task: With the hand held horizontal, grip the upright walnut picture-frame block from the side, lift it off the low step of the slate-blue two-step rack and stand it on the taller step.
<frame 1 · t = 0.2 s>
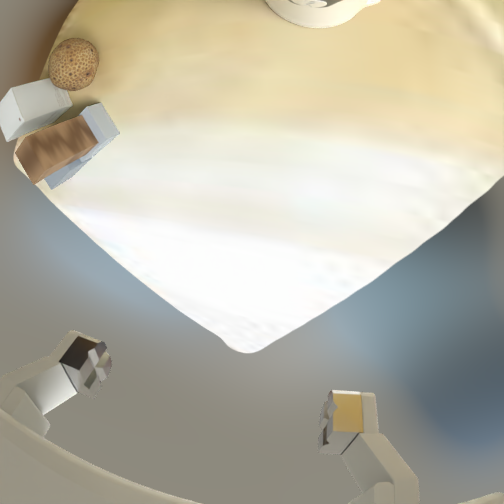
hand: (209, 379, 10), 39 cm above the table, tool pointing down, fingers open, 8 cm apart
supplement box: (57, 99, 44), on the table
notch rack: (84, 142, 48), on the table
natural sponge: (94, 62, 39), on the table
frame block: (83, 135, 43), point 4 cm above the table, touching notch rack
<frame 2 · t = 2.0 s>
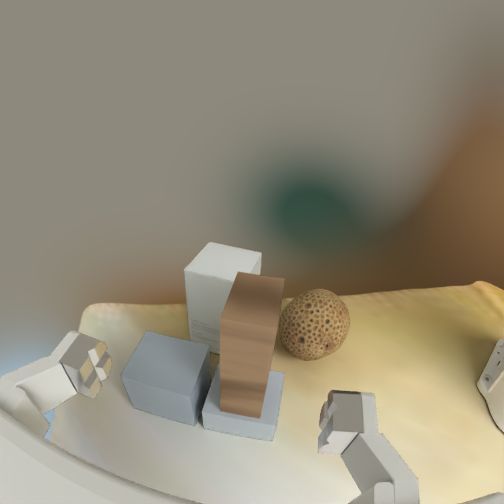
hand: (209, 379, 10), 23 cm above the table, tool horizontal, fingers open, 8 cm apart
supplement box: (223, 337, 42), on the table
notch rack: (207, 402, 32), on the table
natural sponge: (305, 353, 40), on the table
frame block: (245, 391, 30), point 4 cm above the table, touching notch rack
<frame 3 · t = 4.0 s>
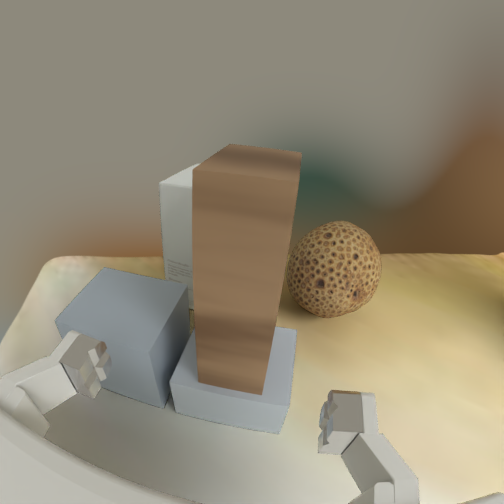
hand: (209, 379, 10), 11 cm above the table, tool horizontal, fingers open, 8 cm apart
supplement box: (212, 293, 32), on the table
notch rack: (184, 375, 22), on the table
natural sponge: (321, 315, 31), on the table
frame block: (239, 354, 20), point 4 cm above the table, touching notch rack
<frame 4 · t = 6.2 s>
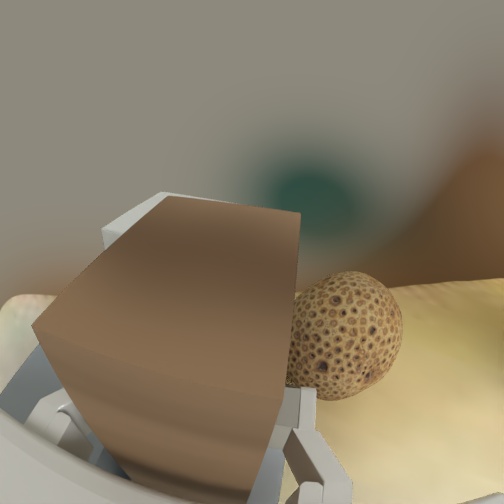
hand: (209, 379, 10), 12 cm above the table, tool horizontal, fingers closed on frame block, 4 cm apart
supplement box: (187, 352, 25), on the table
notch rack: (148, 469, 15), on the table
natural sponge: (322, 381, 23), on the table
frame block: (209, 469, 13), point 4 cm above the table, touching gripper, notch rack
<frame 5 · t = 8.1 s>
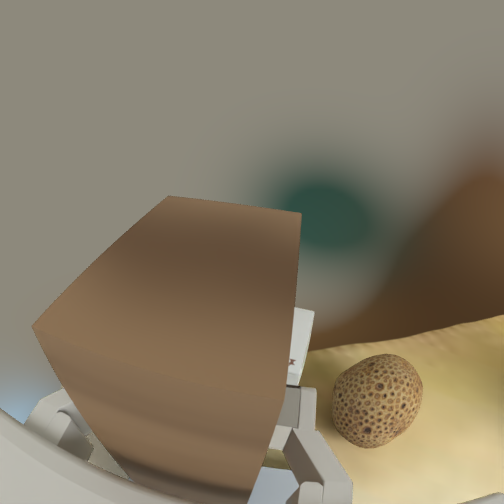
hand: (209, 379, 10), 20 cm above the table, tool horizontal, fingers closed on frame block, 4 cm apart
supplement box: (252, 411, 29), on the table
natural sponge: (357, 427, 27), on the table
frame block: (210, 470, 13), point 13 cm above the table, touching gripper
when the fingers open (15 cm above the table, at t = 9.9 s): frame block drops 1 cm, resting on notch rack.
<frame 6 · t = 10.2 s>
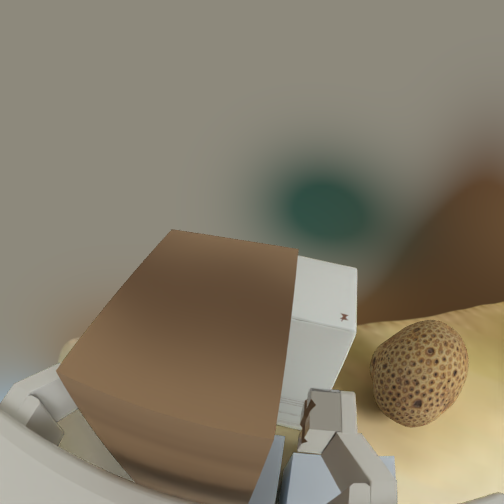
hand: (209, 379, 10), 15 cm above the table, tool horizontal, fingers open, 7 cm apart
supplement box: (279, 393, 26), on the table
natural sponge: (395, 408, 24), on the table
frame block: (211, 475, 13), point 7 cm above the table, touching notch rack
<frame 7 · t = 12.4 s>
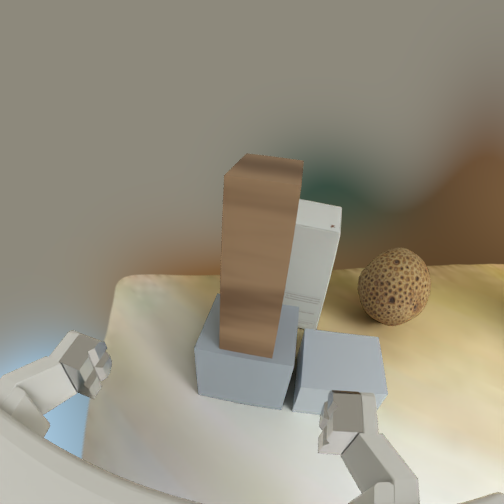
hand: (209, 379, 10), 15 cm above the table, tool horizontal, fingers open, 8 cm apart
supplement box: (290, 307, 37), on the table
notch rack: (290, 380, 27), on the table
natural sponge: (380, 322, 36), on the table
frame block: (252, 327, 25), point 6 cm above the table, touching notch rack
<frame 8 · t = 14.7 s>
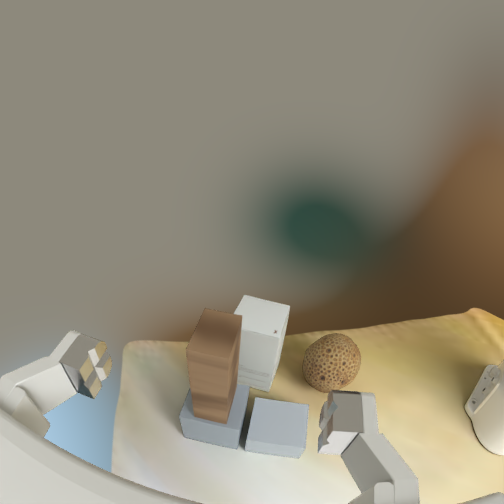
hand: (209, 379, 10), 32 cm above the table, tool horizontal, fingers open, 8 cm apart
supplement box: (253, 371, 48), on the table
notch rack: (245, 429, 38), on the table
natural sponge: (322, 383, 46), on the table
frame block: (216, 401, 35), point 6 cm above the table, touching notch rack
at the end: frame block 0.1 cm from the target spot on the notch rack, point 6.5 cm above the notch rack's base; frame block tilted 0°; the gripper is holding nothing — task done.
